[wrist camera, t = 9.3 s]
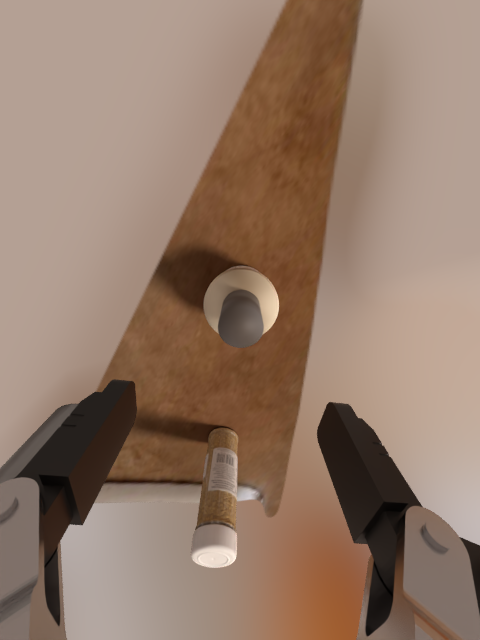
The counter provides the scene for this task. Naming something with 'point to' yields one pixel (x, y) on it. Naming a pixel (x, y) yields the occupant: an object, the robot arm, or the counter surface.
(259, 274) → the lid
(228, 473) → the sprinkles bottle
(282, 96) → the counter surface
